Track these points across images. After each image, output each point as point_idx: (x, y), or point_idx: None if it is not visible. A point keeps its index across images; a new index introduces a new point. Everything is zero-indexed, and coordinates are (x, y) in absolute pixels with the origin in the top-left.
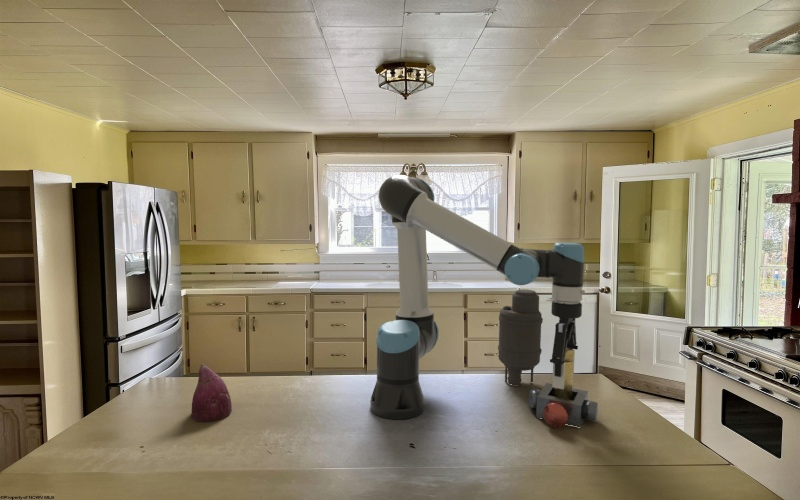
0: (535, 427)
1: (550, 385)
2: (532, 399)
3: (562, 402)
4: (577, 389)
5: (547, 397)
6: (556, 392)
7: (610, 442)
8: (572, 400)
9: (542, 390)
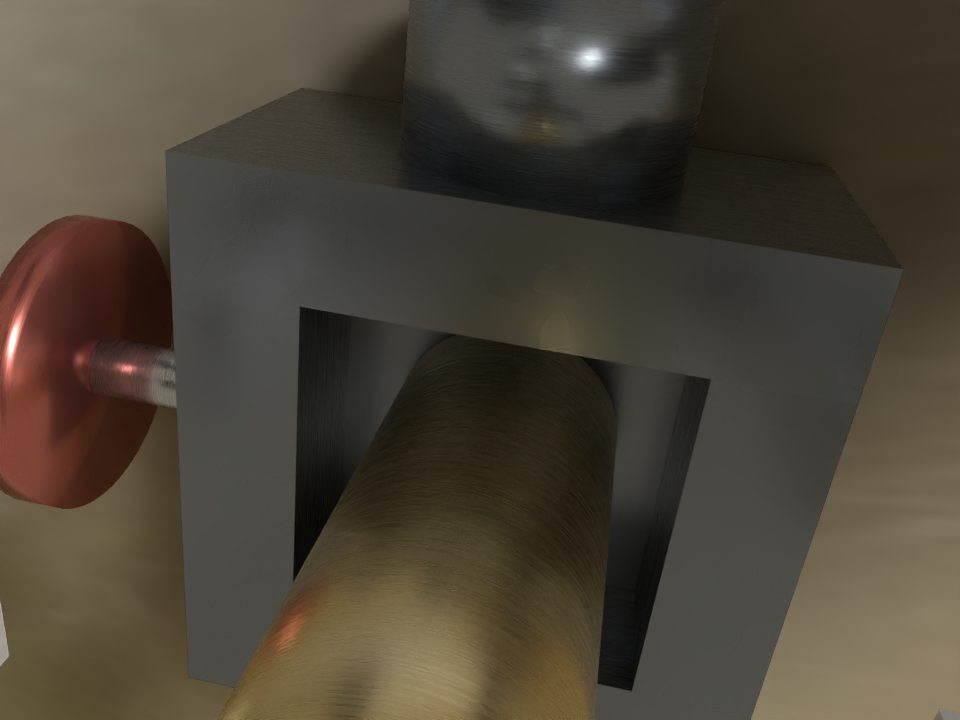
0: (75, 108)
1: (781, 335)
2: (408, 30)
3: (183, 494)
4: (743, 694)
5: (215, 310)
6: (370, 449)
7: (190, 686)
8: (646, 547)
9: (467, 217)
